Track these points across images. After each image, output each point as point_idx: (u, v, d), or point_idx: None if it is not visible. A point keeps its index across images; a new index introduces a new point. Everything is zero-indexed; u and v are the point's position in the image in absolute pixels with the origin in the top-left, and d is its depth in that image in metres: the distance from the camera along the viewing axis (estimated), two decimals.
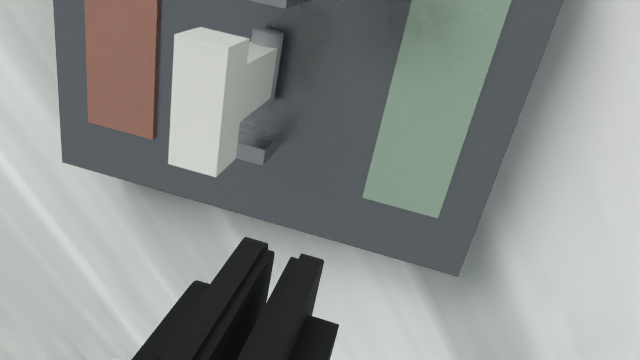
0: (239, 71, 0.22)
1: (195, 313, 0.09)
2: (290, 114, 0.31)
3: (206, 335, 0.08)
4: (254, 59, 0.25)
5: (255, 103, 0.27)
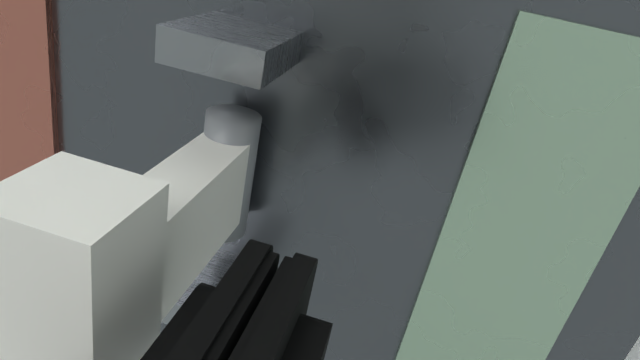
0: (145, 259, 0.10)
1: (201, 316, 0.09)
2: (275, 238, 0.19)
3: (213, 339, 0.08)
4: (196, 191, 0.13)
5: (206, 256, 0.15)
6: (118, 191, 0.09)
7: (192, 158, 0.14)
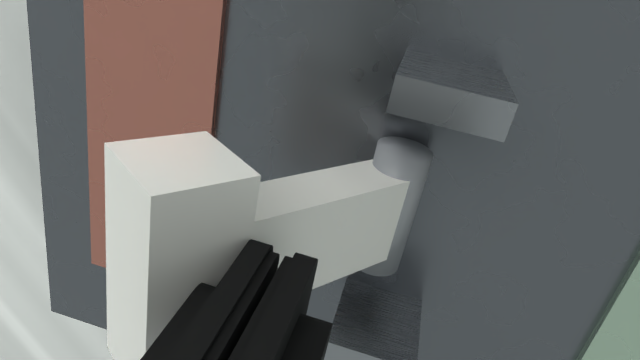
0: (222, 236, 0.11)
1: (201, 316, 0.09)
2: (438, 277, 0.18)
3: (214, 338, 0.08)
4: (319, 203, 0.13)
5: (328, 274, 0.15)
6: (214, 168, 0.10)
7: (342, 176, 0.15)
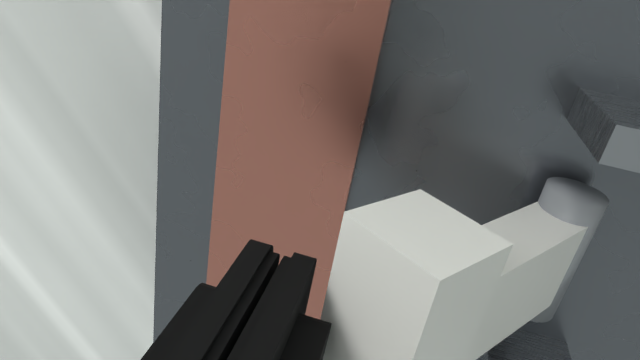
0: (470, 310, 0.10)
1: (202, 316, 0.09)
2: (587, 319, 0.18)
3: (213, 339, 0.08)
4: (525, 259, 0.12)
5: (510, 327, 0.14)
6: (466, 238, 0.10)
7: (524, 225, 0.14)
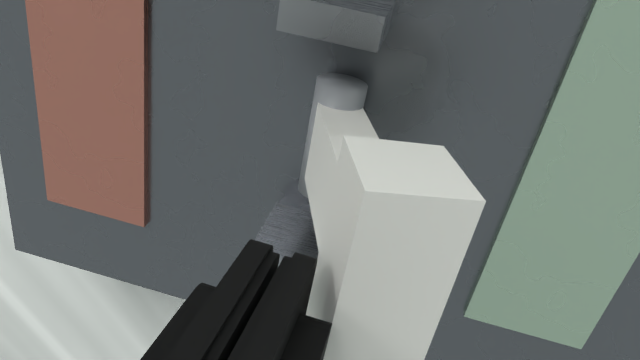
0: None
1: (201, 316, 0.09)
2: None
3: (214, 338, 0.08)
4: None
5: None
6: (430, 159, 0.11)
7: (343, 127, 0.15)
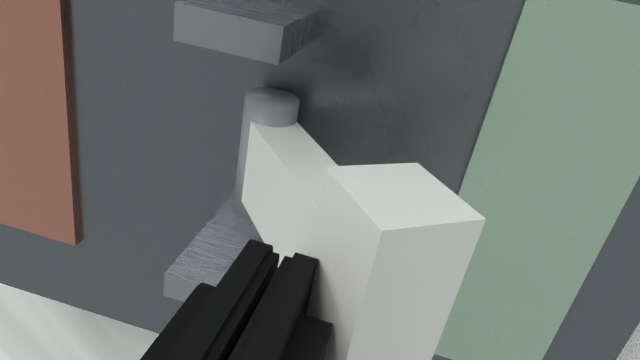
0: None
1: (201, 316, 0.09)
2: None
3: (213, 338, 0.08)
4: None
5: None
6: (415, 180, 0.11)
7: (289, 147, 0.15)
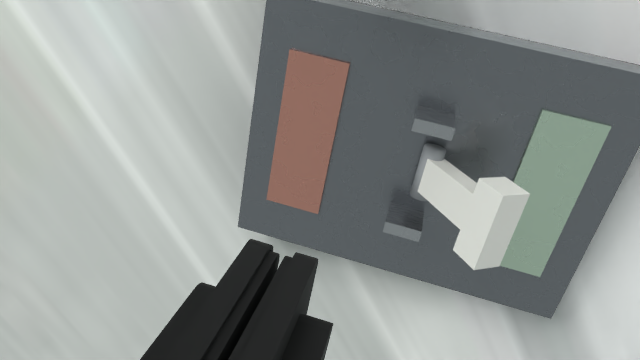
0: None
1: (201, 316, 0.09)
2: None
3: (213, 338, 0.08)
4: (471, 179, 0.37)
5: None
6: (506, 182, 0.34)
7: (448, 169, 0.38)
